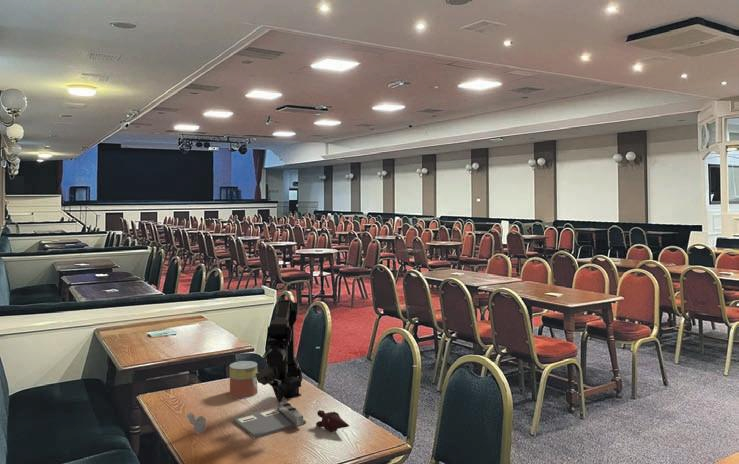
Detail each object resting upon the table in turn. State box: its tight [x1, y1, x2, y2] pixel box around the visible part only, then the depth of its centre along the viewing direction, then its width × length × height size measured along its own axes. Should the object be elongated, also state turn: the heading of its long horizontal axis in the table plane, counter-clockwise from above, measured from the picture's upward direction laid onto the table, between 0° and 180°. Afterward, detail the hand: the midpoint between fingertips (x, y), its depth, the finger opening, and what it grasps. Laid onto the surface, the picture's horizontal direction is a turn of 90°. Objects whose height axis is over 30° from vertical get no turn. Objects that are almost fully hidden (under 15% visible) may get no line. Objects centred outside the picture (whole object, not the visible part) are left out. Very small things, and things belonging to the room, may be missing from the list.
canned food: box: [228, 360, 258, 399], centre depth 230 cm, size 11×11×12 cm
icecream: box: [315, 409, 350, 433], centre depth 194 cm, size 7×7×15 cm
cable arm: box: [277, 399, 304, 426], centre depth 203 cm, size 18×3×3 cm, turn 31°
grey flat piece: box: [186, 412, 207, 435], centre depth 192 cm, size 7×2×8 cm, turn 151°
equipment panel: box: [231, 406, 307, 439], centre depth 201 cm, size 20×18×1 cm
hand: (279, 402), depth 196 cm, fingers closed
